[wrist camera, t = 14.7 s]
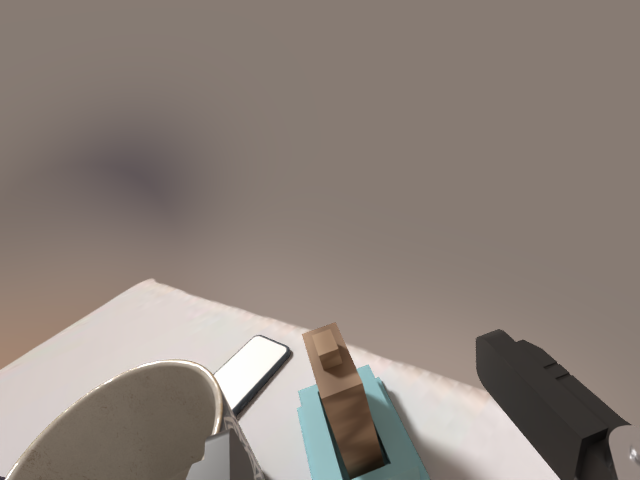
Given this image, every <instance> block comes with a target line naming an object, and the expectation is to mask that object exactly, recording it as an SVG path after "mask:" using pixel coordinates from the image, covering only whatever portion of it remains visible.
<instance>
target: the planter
mask: <svg viewBox="0 0 640 480" xmlns="http://www.w3.org/2000/svg"><path fill="white" fill-rule="evenodd" d="M230 428H233V429H234V430H235V432H236V434H237V436H238V437H239V439H240V441H241V443H242V445H243V447H244V448H245V450H246V452H247V454H248V456H249V458H250V461H251V465H252V469H253V475H254V480H265V478H264V475H263V472H262V470H261V468H260V465H259V463H258V461H257V459H256V457H255V455H254V453H253V451H252V449H251V447H250V445H249V443H248V441H247V439H246V437H245V435H244V433H243V431H242V429H241V427H240V425H239V423H238V421H237V419H236V417H235V415H234V413H233V411H232V409H231V407H230V405H229V403H228V401H227V399H226V397H225V395H224V393H223V391H222V389H221V387H220V385H219V383H218V381H217V380H216V378H215V377H214V375H213V374H212V373H211V372H210V371H209V370H208V369H207V368H205V367H204V366H202V365H200V364H198V363H195V362H192V361H187V360H178V359H172V360H162V361H156V362H152V363H148V364H145V365H142V366H139V367H136V368H133V369H131V370H128V371H126V372H124V373H122V374H120V375H118V376H116V377H114V378H112V379H110V380H108V381H106V382H105V383H103V384H101V385H100V386H98V387H96V388H95V389H93V390H92V391H90V392H89V393H87V394H86V395H84V396H83V397H82V398H80V399H79V400H78V401H76V402H75V403H74V404H73V405H71V406H70V407H69V408H68V409H66V410H65V411H64V412H63V413H62V414H61V415H59V416H58V417H57V418H56V419H55V420H54V421H53V422H52V423H51V424H50V425H49V426H48V427H47V428H46V429H45V430H44V431H43V432H42V433H41V434H40V435H39V436H38V437H37V438H36V439H35V440H34V441H33V442H32V444H31V445H30V446H29V447H28V448H27V449H26V451H25V452H24V453H23V454H22V456H21V457H20V458H19V459H18V461H17V462H16V463H15V465H14V466H13V468H12V469H11V470H10V472H9V473H8V475H7V476H6V478H5V480H186V477H187V475H188V473H189V470H190V468H191V466H192V464H194V463H197V462H199V461H202V460H204V452H205V441H206V438H207V437H208V436H211V435H213V434H216V433H219V432H221V431H224V430H227V429H230Z"/></svg>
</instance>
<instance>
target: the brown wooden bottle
mask: <svg viewBox="0 0 640 480" xmlns="http://www.w3.org/2000/svg"><path fill="white" fill-rule="evenodd" d="M302 336H303V339H304V343H305V346H306V349H307V353H308V356H309V359H310V363H311V366H312V370H313V373H314V376H315V380H316V383H317V386H318V390H319V393H320V397H321V400H322V403H323V405H324V408H325V411H326V414H327V416H328V419H329V422H330V425H331V428H332V430H333V433H334V436H335V439H336V442H337V444H338V447H339V450H340V453H341V455H342V458H343V461H344V464H345V467H346V469H347V472H348V475H349V478H350V480H352V479H354V478H357V477H359V476H361V475H364V474H366V473H369V472H371V471H374V470H376V469H378V468H381V467H383V466H385V465H384V461H383V457H382V454H381V450H380V446H379V442H378V439H377V435H376V431H375V427H374V424H373V420H372V416H371V412H370V409H369V405H368V401H367V397H366V394H365V390H364V386H363V383H362V380H361V378H360V376H359V374H358V371H357V369H356V367H355V365H354V363H353V360H352V358H351V356H350V354H349V351H348V349H347V347H346V345H345V342H344V340H343V338H342V336H341V333H340V331H339V329H338V327H337V325H336V323H332V324H329V325H326V326H324V327H321V328H318V329H315V330H313V331H310V332H307V333H304V334H302Z"/></svg>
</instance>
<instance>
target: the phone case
mask: <svg viewBox="0 0 640 480" xmlns="http://www.w3.org/2000/svg"><path fill="white" fill-rule="evenodd" d="M290 354H291V352H290V349H289V347H288V346H286V345H284V344H281V343H279V342H276V341H274V340H272V339H269V338H267V337H265V336H262V335H257V336H254V337H253V338H252V339H251V340H250V341H249V342H247V343H246V344H245V345H244V346H243V347H242V348H241V349H240V350H239V351H238V352H237V353H236V354H235V355H234V356H233V357H231V358H230V359H229V360H228V361H227V362H226V363H225V364H224V365H223V366H222V367H221V368H220V369H219V370H218V371H217V372H216V373H214V374H213V375H214V377H215V378H216V380H217V381H218V383H219V385H220V387H221V389H222V391H223V393H224V395H225V397H226V399H227V401H228V403H229V405H230V407H231V409H232V411H233V413H234V415H235V417H236V416H237V415H238V413H239V412H240V411H241V410H242V409H243V408H244V407H245V406H246V405H247V403H248V402H249V401H250V400H251V399H252V398H253V397H254V396H255V395H256V393H257V392H258V391H259V390H260V389H261V388H262V387H263V386H264V384H265V383H266V382H267V381H268V380H269V379H270V378H271V377H272V375H273V374H274V373H275V372H276V371H277V370H278V369H279V368H280V366H281V365H282V364H283V363H284V362H285V361H286V360H287V359H288V357H289V356H290Z"/></svg>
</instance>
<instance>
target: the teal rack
mask: <svg viewBox="0 0 640 480" xmlns="http://www.w3.org/2000/svg"><path fill="white" fill-rule="evenodd" d="M357 371H358V374H359V376H360V378H361V380H362V383H363V386H364V390H365V394H366V397H367V401H368V405H369V409H370V412H371V416H372V420H373V424H374V427H375V431H376V435H377V439H378V442H379V446H380V450H381V454H382V457H383V461H384V465H385V466H383V467H381V468H378V469H376V470H374V471H371V472H369V473H366V474H364V475H361V476H359V477H357V478H354V479H352V480H430V477H429V475H428V473H427V471H426V469H425V467H424V465H423V463H422V461H421V459H420V457H419V455H418V453H417V451H416V449H415V448H414V446H413V444H412V442H411V440H410V438H409V436H408V434H407V432H406V430H405V428H404V426H403V424H402V422H401V420H400V418H399V416H398V414H397V412H396V410H395V408H394V406H393V404H392V402H391V400H390V398H389V396H388V394H387V392H386V390H385V388H384V386H383V384H382V382H381V380H380V378H379V377H378V378H375V377H374V375H373V373H372V371H371V369H370V367H369V365H366V366H363V367H361V368H358V369H357ZM298 393H299V397H300V402H301V406H302V407H299V408H297V411H298V416H299V421H300V425H301V430H302V435H303V439H304V444H305V449H306V454H307V458H308V463H309V468H310V473H311V477H312V480H350V478H349V475H348V472H347V469H346V467H345V464H344V461H343V458H342V455H341V453H340V450H339V447H338V444H337V442H336V439H335V436H334V433H333V430H332V428H331V425H330V422H329V419H328V416H327V414H326V411H325V408H324V405H323V403H322V400H321V397H320V393H319V390H318V386H317V384H316V385H313V386H310V387H308V388H305V389H302V390H300V391H298Z"/></svg>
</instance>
